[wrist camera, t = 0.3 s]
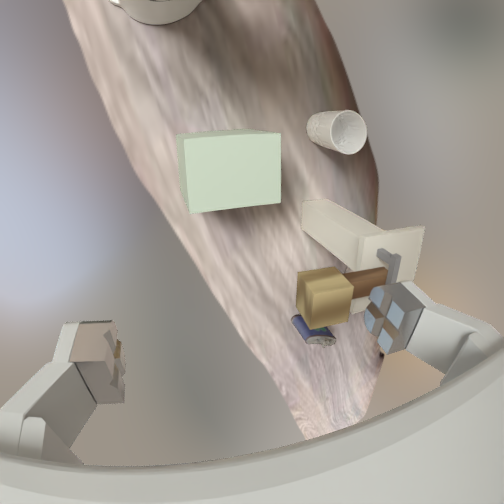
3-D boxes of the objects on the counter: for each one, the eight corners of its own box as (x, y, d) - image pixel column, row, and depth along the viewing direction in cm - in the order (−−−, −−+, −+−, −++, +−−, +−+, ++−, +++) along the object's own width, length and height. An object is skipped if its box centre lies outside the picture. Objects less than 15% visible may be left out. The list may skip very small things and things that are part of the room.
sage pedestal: (175, 134, 49) (183, 139, 36) (248, 128, 52) (280, 133, 39) (180, 189, 53) (189, 214, 40) (249, 181, 56) (280, 202, 43)
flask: (289, 322, 74) (308, 349, 65) (293, 312, 73) (313, 339, 64) (317, 325, 78) (338, 350, 69) (322, 316, 77) (343, 341, 68)
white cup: (302, 146, 56) (329, 153, 48) (303, 107, 53) (331, 107, 44) (336, 148, 59) (365, 155, 50) (338, 111, 55) (368, 113, 47)
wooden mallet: (297, 272, 36) (313, 294, 32) (385, 258, 39) (406, 275, 34) (295, 305, 39) (310, 329, 34) (379, 289, 41) (398, 308, 37)
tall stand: (284, 188, 59) (383, 249, 33) (335, 184, 62) (443, 237, 36) (283, 244, 64) (366, 329, 39) (332, 236, 67) (424, 307, 42)
